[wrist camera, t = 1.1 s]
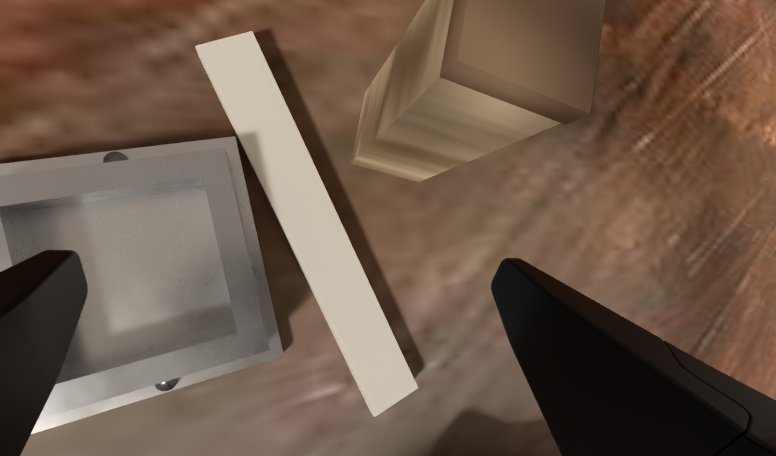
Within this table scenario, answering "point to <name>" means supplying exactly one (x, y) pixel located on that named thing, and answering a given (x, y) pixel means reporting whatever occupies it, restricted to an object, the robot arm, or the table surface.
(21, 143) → the table surface
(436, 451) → the table surface
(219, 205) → the keeper
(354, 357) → the door edge strip
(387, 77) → the block
